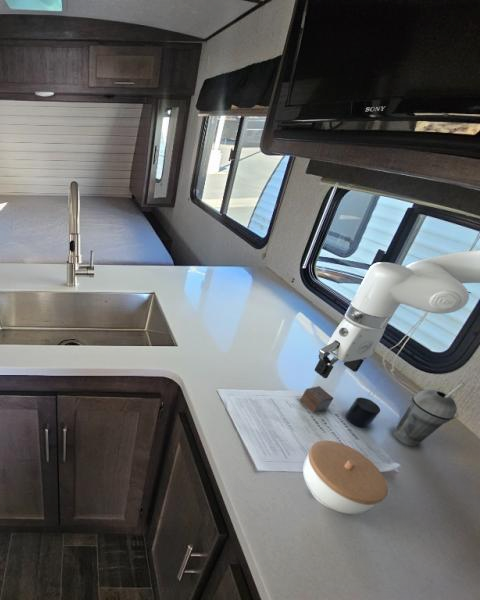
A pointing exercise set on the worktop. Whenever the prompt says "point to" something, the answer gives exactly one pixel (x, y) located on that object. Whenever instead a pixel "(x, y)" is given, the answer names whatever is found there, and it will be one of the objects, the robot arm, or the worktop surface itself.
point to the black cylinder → (362, 412)
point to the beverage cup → (425, 415)
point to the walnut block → (316, 399)
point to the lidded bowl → (343, 478)
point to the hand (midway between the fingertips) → (335, 371)
